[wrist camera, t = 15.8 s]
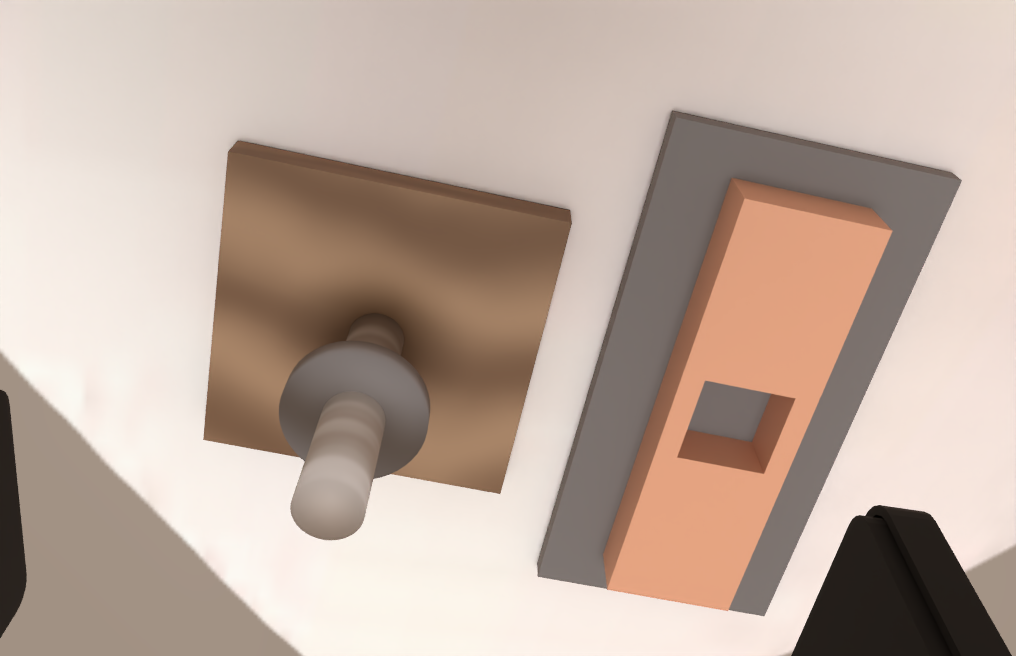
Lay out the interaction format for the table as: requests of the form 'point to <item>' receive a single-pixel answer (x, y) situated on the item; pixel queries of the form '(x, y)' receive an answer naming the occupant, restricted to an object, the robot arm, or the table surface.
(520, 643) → the table surface
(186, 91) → the table surface
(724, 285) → the link
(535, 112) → the table surface
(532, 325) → the stand
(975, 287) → the table surface
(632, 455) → the mat
